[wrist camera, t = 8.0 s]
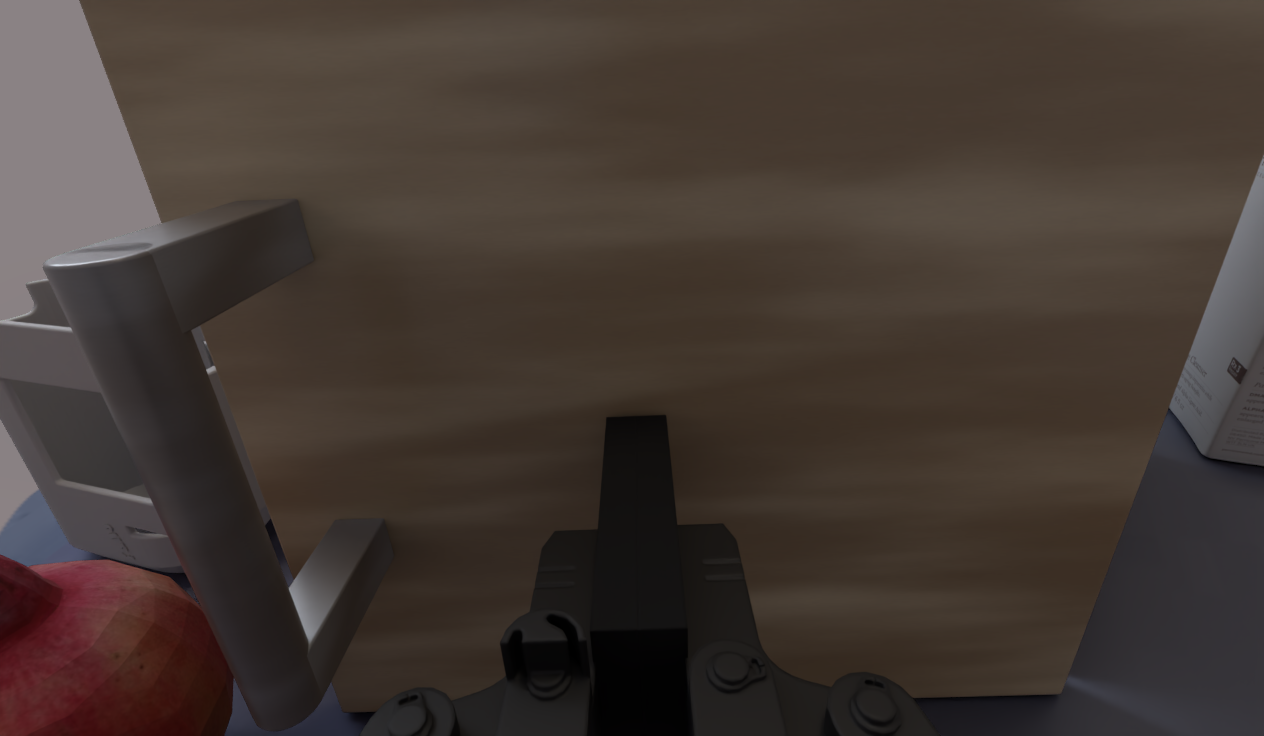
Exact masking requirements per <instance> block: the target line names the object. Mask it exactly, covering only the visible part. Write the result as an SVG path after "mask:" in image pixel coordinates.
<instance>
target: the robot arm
mask: <svg viewBox="0 0 1264 736" xmlns="http://www.w3.org/2000/svg"><path fill="white" fill-rule="evenodd" d="M500 647H501V652H502V658H503V663H504V668H505V673H506V676H505V677H504V678H503V679H501V680H500V681H498V682H497V683H495V684H494V685H492V686H490V687H488V688H486V689H483V690H481V691H479V692H476V693H473V694H470V695H467V696H464V697H461V698H458V699H455V700H452V701H451V700H450V698H449V697H448V696H447V694H446V693H444V692H442V691H440V690H437V689H435V688H433V687H416V688H413V689H410V690H407V691H404V692H401V693H399V694H397V695H396V696H394V697H393V698H391V699H390V700H388V701H387V702H385V703H384V704H383V705H382V706H381V707H380V708H379V709H378V710H377V711H376V712H375V714H374V715H373V716H372V717H371V718H370V720H369V721H368V723H367V724H366V726H365V727H364V729H363V730H362V732H361V733H360V735H359V736H940V734H939V733H938V731H937V730H936V729H935V727H934V726H933V725H932V723H931V722H930V720H929V719H928V718H927V716H926V715H925V714H924V712H923V711H922V709H921V708H920V707H919V705H918V704H917V703H916V701H915V700H914V699H913V698H912V697H911V696H910V695H909V694H908V693H907V692H906V691H905V690H904V689H903V688H902V687H901V686H900V685H898V684H896V683H895V682H893V681H891V680H889V679H888V678H886V677H884V676H881V675H877V674H873V673H869V672H856V673H849V674H847V675H845V676H843V677H841V678H839V679H837V680H836V681H835V683H834V684H833V686H832V687H830V686H826V685H822V684H818V683H815V682H811V681H807V680H804V679H801V678H798V677H795V676H793V675H790V674H789V673H787V672H785V671H784V670H782V669H781V668H779V667H778V666H777V665H776V664H775V663H774V662H773V661H771V660H770V659H769V657H768V656H767V654H766V653H765V651H764V650H763V648H762V645H761V643H760V640H759V637H758V632H757V628H756V623H755V619H754V615H753V610H752V606H751V601H750V597H749V592H748V588H747V584H746V580H745V575H744V570H743V566H742V563H741V557H740V553H739V548H738V544H737V540H736V539H735V537H734V536H733V535H732V534H731V533H730V531H729V530H728V529H727V528H726V527H725V525H724V524H723V523H719V524H690V525H677V517H676V507H675V497H674V487H673V477H672V467H671V457H670V447H669V437H668V427H667V417H666V415H650V416H624V417H606V428H605V441H604V454H603V467H602V480H601V493H600V506H599V519H598V529H593V530H565V531H554V533H553V534H552V535H551V537H550V538H549V539H548V541H547V542H546V543H545V545H544V546H543V547H542V550H541V555H540V560H539V565H538V572H537V575H536V581H535V588H534V591H533V596H532V601H531V606H530V612H528V613H526V614H524V615H522V616H520V617H519V618H517V619H516V620H515V621H514V622H513V623H512V624H511V625H510V626H509V627H508V628H507V629H506V631H505V633H504V635H503V637H502V639H501V641H500Z"/></svg>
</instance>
